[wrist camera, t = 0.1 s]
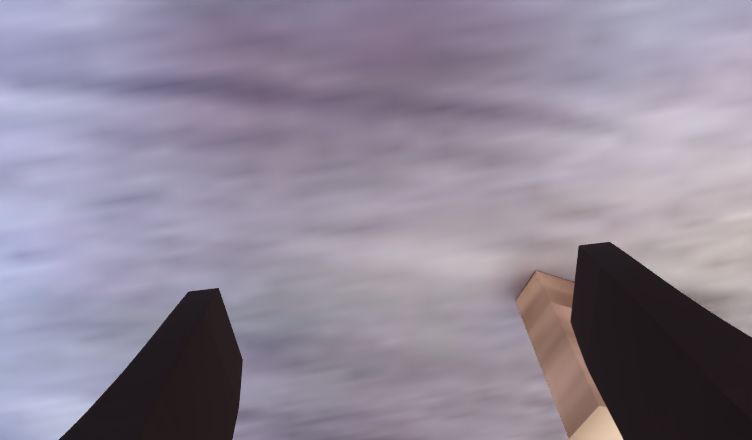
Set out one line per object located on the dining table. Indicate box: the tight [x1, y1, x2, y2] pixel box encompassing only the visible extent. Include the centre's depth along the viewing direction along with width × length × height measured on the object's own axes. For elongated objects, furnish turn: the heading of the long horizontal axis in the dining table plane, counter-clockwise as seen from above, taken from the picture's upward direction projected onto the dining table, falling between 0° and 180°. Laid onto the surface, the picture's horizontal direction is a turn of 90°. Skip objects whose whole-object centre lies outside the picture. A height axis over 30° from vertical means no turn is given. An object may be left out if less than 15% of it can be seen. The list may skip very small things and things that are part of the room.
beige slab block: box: [516, 271, 623, 440], centre depth 23 cm, size 10×2×7 cm, turn 68°
